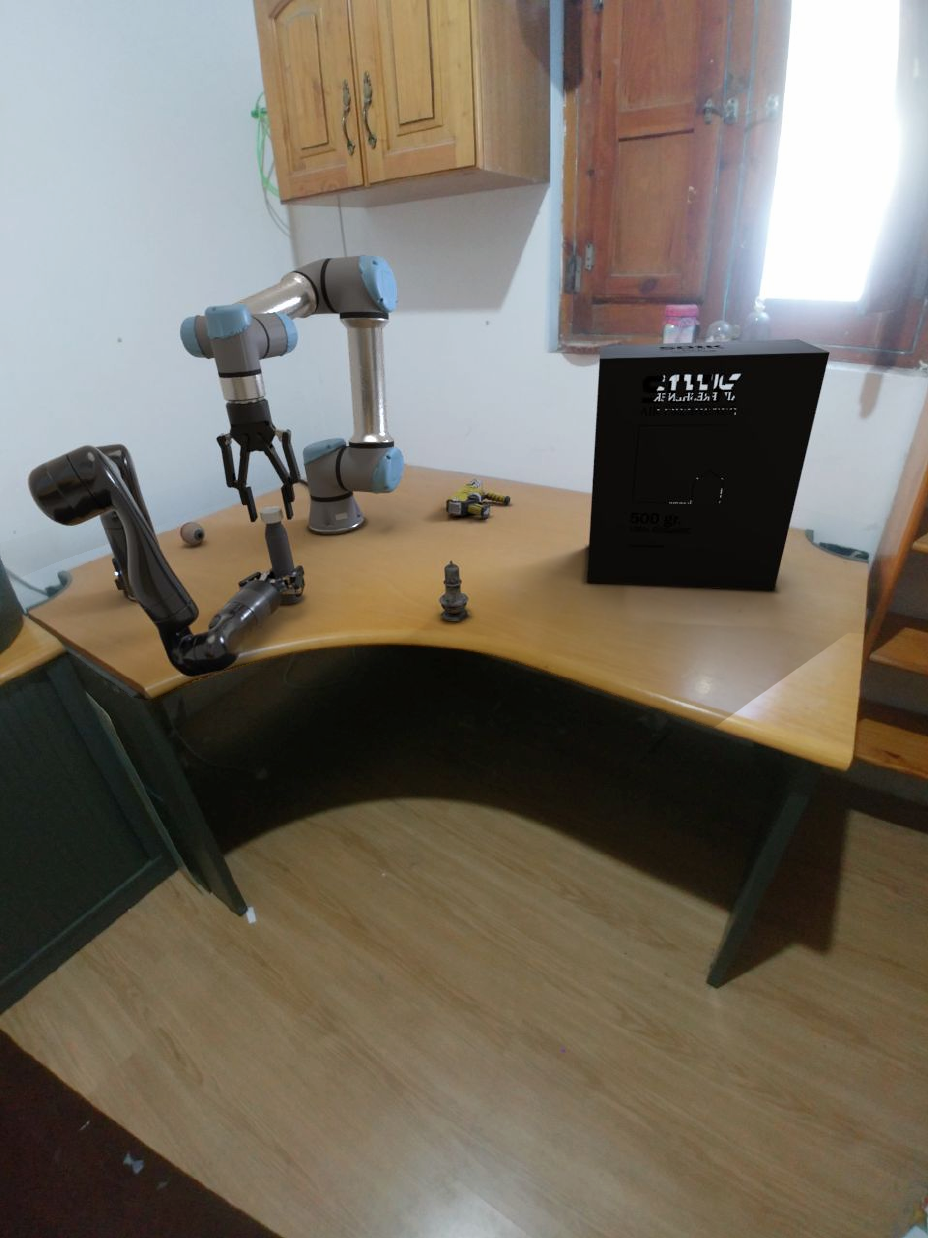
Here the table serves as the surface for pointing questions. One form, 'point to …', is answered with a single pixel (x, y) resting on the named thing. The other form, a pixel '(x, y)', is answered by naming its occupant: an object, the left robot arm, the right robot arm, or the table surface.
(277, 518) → the cap
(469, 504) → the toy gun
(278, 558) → the bottle
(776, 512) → the cardboard box
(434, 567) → the table surface
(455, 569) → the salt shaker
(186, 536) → the eyeball
